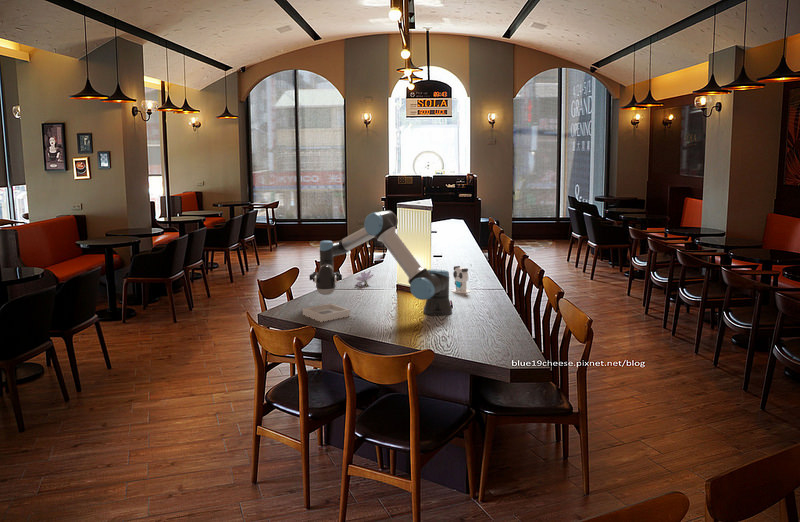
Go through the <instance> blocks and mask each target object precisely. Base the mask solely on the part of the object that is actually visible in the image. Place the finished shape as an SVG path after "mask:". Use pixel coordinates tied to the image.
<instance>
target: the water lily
mask: <svg viewBox="0 0 800 522" xmlns="http://www.w3.org/2000/svg"><path fill="white" fill-rule="evenodd" d="M371 273H372V271H371V270H369V271H368V272H366V271H363V272H360V276H357V277H355V280H357V282H356V284H355V285H354V286H355V287H357V286H359V285H361V284H365V285H366V286H367V287H369V284H368V280H370V279H372V278H373V277H374V274H371Z"/></svg>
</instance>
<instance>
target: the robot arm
mask: <svg viewBox="0 0 800 522" xmlns="http://www.w3.org/2000/svg"><path fill="white" fill-rule="evenodd" d="M398 221H399V220H398V217H397V215H396V214H395V213H394V212H393V211H392V210H382V211H373V212H371V213H369V214H368V215H367V216H366V217H365V219H364V224H363V225H364V226H363V227H362V228H361V229H359V230H357V231H355V232H353V233H351V234H349V235H347V236H346V237H344V238H342V239H340V240H338V241H336V242H333V241H332V240H321V241H320V242H319V248H318V249H319V269H320V268H321V267H322V266H323V265H327V266H329V267H330V268H331V270H332V272H333V275H334V279H335V284H336V283H337V281H340V280H342V279H343V275H342V274H341V273H340V271H335V272H334V270H335V268H334V267H335V265H334V257H336V256H340V255H345V254H347V253H349V251H351V250H353V249H354V248H356V247H358V246H361V245H362V244H364V243H366V242H368V241H370V240H372V239H373V238H375V239H376V240H377V242H382V243H383V245H384V246H385V248H386V249H387V251H389V253H390V254H391V255H392V257H393V259H394V260H395V261H396V262H397V264H398V266H399V267H400V268H401V270H403V272H404V273H405V275H406V276H407V278H408V281H407V282H408V284H409V290H410V292H411V294H412V296H414V297H415V298H416V299H418V300H420V301H421V300H422V301H424V300H425V303H424V304H425V305H424V306H423V313H424V314H425V315H430V316H447V315H451V314H452V313H453V307H452V306H451V305H452V304H451V301H450V272H449V271H448V270H445V269H427V268H425V267H422V266H421V265H420V263H419V262H418V261H417V259H416V257H414V254H412V252H411V251H410V250H409V248H408V247H407V245H405V242H403V241H402V239H401V238H400V236H399V234H397V232H396V228H397V226H398V223H399V222H398ZM317 276H318V272H316V271H313V272H311V273H310V274H309V276H308V277H309V281H312V282H313V283H314V284H316V280H317Z"/></svg>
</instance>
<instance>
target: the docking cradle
mask: <svg viewBox="0 0 800 522" xmlns="http://www.w3.org/2000/svg"><path fill="white" fill-rule="evenodd" d="M304 315H305V316H304ZM302 316H304V317H307V318H309V317H310V319H313V320H314V319H315V320H314V321H317V322H319V321H320V323H324V322H329V321H333V319H334V320H338V318H339V319H344V318H348V316H349V317H351V309H350V308H346V307H345V306H340V305H337V304H334V303H332V302H331V303H326V304H321V305H315V306H310V307H303V308H302ZM343 317H344V318H343ZM328 320H329V321H328ZM323 321H324V322H323Z"/></svg>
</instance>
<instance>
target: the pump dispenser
mask: <svg viewBox="0 0 800 522" xmlns="http://www.w3.org/2000/svg"><path fill="white" fill-rule="evenodd" d="M333 272H334V271H333ZM333 272H332V270H331V268H330V267H329V266H327V265H323V266H322V267H321V268H320V267H319V270H318V272H317V273H318V276H317V280H316V283H315V288H316V291H317V292H318V294H320V295H323V296H327V295H331V294H333V293H334V292H335V289H336V288H337V287H336V283H335V279H334V275H333Z"/></svg>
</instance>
